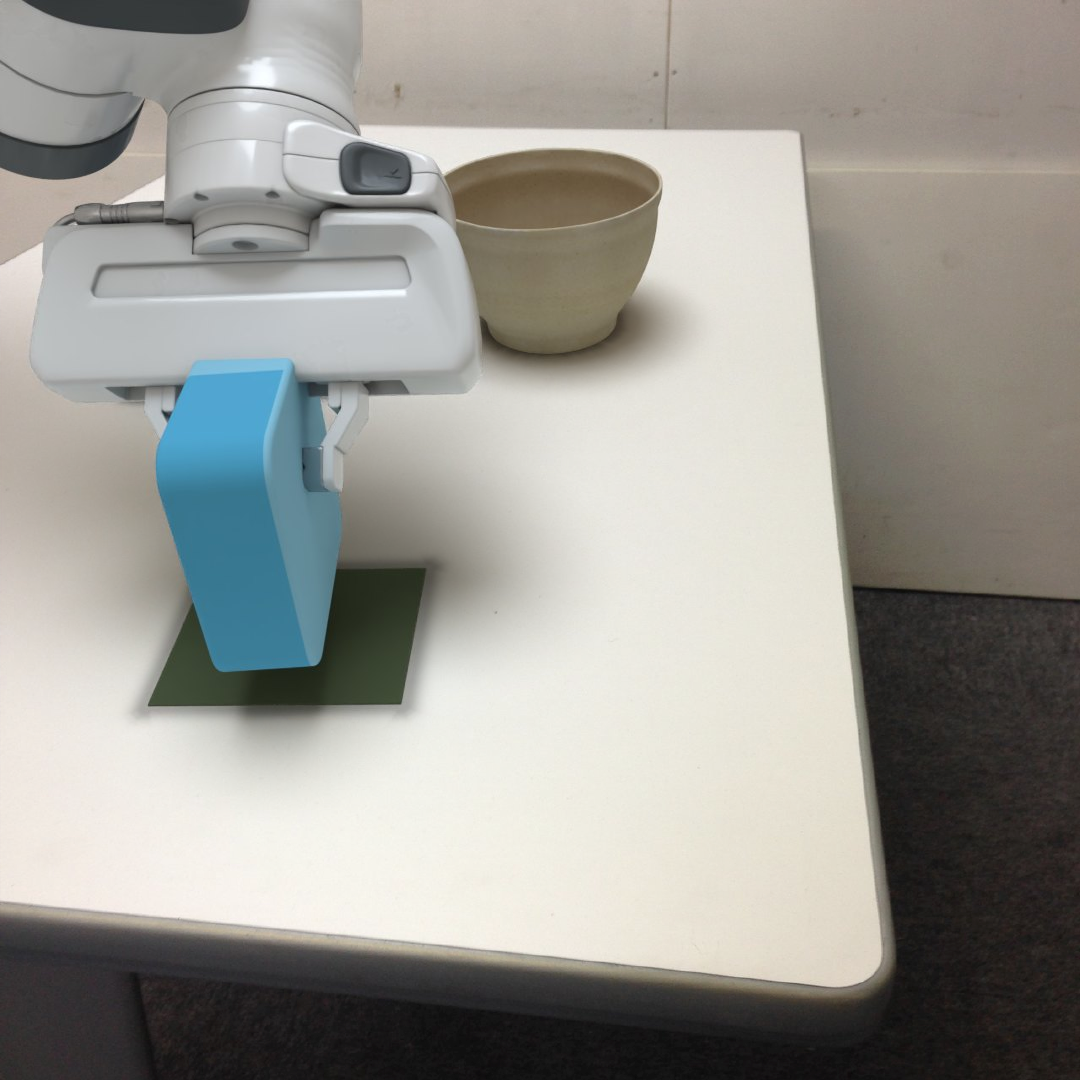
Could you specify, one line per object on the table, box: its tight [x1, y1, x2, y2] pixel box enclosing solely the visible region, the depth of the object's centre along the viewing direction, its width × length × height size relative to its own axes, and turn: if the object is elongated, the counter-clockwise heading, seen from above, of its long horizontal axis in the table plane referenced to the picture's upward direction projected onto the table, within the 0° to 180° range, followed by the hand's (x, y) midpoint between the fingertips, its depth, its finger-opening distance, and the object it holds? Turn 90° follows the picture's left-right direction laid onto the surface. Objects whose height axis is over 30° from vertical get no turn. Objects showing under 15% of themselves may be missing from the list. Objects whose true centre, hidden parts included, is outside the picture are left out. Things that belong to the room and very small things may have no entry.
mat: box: [147, 567, 427, 707], centre depth 54 cm, size 12×10×1 cm
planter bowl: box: [442, 147, 664, 355], centre depth 78 cm, size 16×16×11 cm
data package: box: [155, 358, 343, 672], centre depth 49 cm, size 12×4×12 cm, turn 3°
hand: (257, 491), depth 48 cm, fingers closed on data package, 5 cm apart
